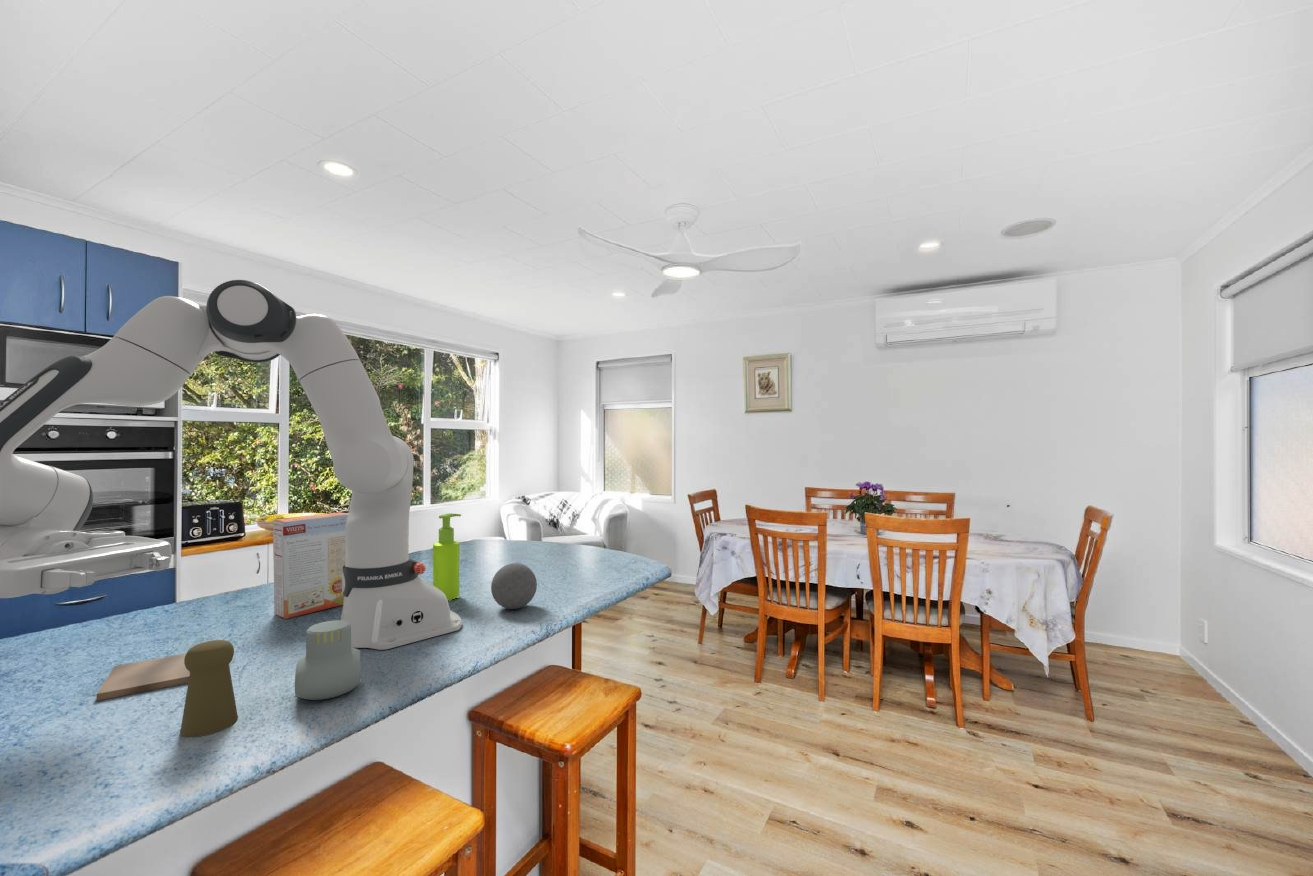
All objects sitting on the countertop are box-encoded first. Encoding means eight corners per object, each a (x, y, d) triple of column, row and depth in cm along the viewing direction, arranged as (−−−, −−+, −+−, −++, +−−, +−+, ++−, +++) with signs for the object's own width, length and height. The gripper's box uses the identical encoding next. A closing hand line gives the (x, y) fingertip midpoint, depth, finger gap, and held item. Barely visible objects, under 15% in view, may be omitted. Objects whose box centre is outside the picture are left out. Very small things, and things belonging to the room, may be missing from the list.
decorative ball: (488, 604, 127) (488, 561, 127) (531, 599, 131) (531, 557, 131) (494, 617, 118) (494, 571, 118) (541, 611, 122) (541, 566, 122)
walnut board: (208, 655, 97) (208, 649, 97) (202, 680, 88) (202, 673, 88) (114, 672, 91) (114, 666, 91) (96, 700, 81) (96, 694, 81)
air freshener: (299, 683, 87) (299, 620, 87) (359, 672, 91) (359, 611, 91) (293, 714, 77) (293, 642, 77) (360, 700, 81) (360, 632, 81)
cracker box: (339, 599, 131) (340, 511, 131) (352, 603, 128) (352, 513, 127) (272, 614, 120) (272, 518, 120) (283, 620, 116) (283, 520, 116)
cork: (205, 739, 71) (205, 653, 71) (167, 734, 72) (167, 649, 72) (249, 716, 77) (249, 636, 77) (213, 711, 78) (213, 633, 78)
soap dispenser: (467, 595, 135) (467, 513, 135) (445, 603, 128) (446, 517, 128) (449, 592, 137) (449, 511, 137) (427, 599, 131) (427, 515, 131)
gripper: (-54, 553, 69) (34, 564, 66) (129, 528, 89) (201, 536, 86) (-58, 604, 69) (30, 617, 66) (126, 568, 89) (199, 577, 86)
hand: (128, 571), depth 76 cm, fingers open, 8 cm apart
